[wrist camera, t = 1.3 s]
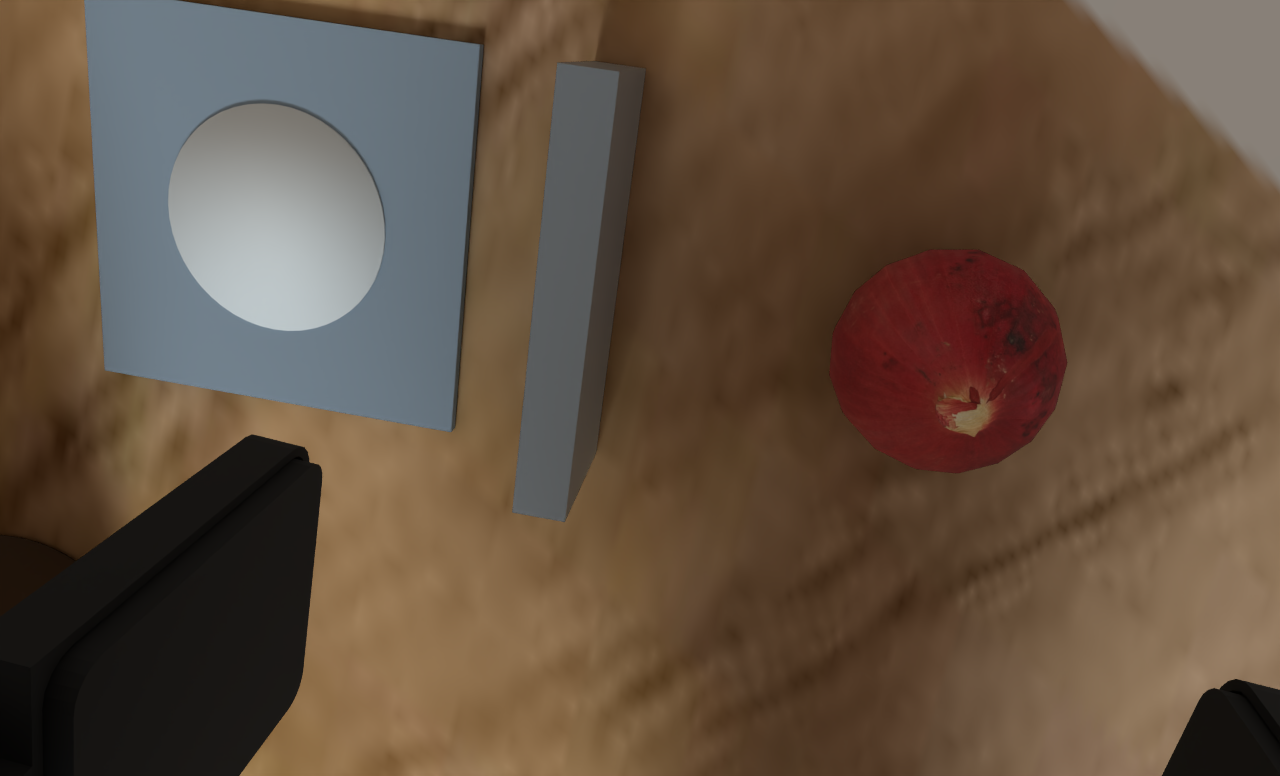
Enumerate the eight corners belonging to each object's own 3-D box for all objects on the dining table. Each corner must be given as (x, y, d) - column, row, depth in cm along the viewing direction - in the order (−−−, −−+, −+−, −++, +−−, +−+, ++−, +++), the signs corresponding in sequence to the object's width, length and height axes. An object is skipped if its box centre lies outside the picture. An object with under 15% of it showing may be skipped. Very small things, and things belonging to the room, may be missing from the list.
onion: (944, 184, 28) (1005, 232, 20) (1068, 332, 29) (1171, 431, 21) (785, 314, 30) (788, 403, 22) (906, 450, 30) (948, 580, 23)
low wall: (596, 453, 32) (565, 522, 27) (551, 444, 32) (512, 512, 27) (645, 68, 28) (619, 71, 23) (594, 61, 28) (557, 62, 23)
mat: (455, 427, 32) (450, 433, 32) (112, 366, 33) (102, 371, 33) (483, 44, 28) (478, 44, 28) (92, -12, 29) (81, -14, 29)
